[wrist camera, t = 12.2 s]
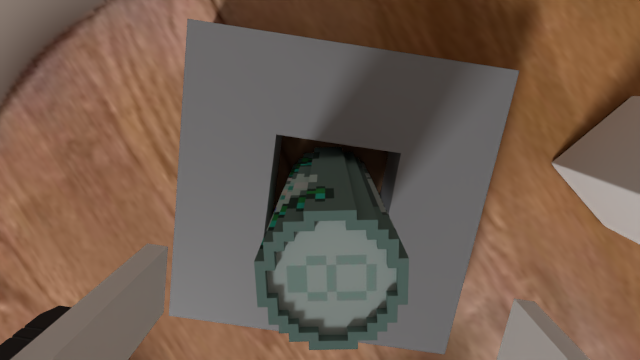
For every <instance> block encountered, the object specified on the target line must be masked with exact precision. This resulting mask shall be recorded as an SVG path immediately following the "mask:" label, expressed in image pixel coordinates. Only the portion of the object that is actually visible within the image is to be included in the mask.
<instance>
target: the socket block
mask: <svg viewBox="0 0 640 360" xmlns="http://www.w3.org/2000/svg"><path fill="white" fill-rule="evenodd" d="M518 74H519V71H518V70H512V69H505V68H499V67H493V66H486V65H480V64H473V63H467V62H461V61H454V60H448V59H442V58H435V57H429V56H422V55H416V54H410V53H403V52H397V51H390V50H384V49H378V48H371V47H365V46H358V45H352V44H346V43H339V42H333V41H327V40H320V39H314V38H307V37H301V36H295V35H288V34H282V33H275V32H269V31H263V30H256V29H250V28H243V27H237V26H231V25H224V24H218V23H212V22H205V21H199V20H192V19H188V21H187V37H186V53H185V69H184V85H183V101H182V116H181V132H180V148H179V164H178V180H177V196H176V212H175V228H174V243H173V259H172V275H171V291H170V307H169V316H175V317H183V318H190V319H197V320H204V321H211V322H218V323H225V324H232V325H239V326H246V327H253V328H261V329H268V330H275V331H279V325H269V322H268V308H267V307H257V294H256V281H255V268H254V260H255V258H256V255H257V253H258V250H259V248H260V245H261V243H262V240H263V238H264V235H265V233H266V231H267V228H268V226H269V223H270V221H271V218H272V215H273V207H274V199H275V191H276V183H277V175H278V167H279V159H280V152H281V144H282V136H283V135H284V136H290V137H297V138H303V139H310V140H317V141H323V142H330V143H336V144H343V145H350V146H356V147H363V148H370V149H376V150H383V151H388V156H387V161H386V166H385V171H384V176H383V181H382V187H381V192H380V197H381V199H382V202H383V204H384V206H385V208H386V210H387V212H388V214H389V216H390V219H391V221H392V223H393V225H394V227H395V229H396V231H397V234H398V236H399V238H400V240H401V242H402V244H403V246H404V249H405V251H406V253H407V255H408V257H409V280H408V305H398V318H397V323H387V332H377V340H362V341H358V342H360V343H367V344H374V345H381V346H388V347H395V348H403V349H410V350H417V351H424V352H431V353H438V354H445V351H446V347H447V343H448V339H449V336H450V332H451V328H452V324H453V320H454V317H455V313H456V309H457V305H458V301H459V298H460V294H461V290H462V286H463V283H464V279H465V275H466V271H467V267H468V264H469V260H470V256H471V252H472V248H473V245H474V241H475V237H476V233H477V229H478V226H479V222H480V218H481V214H482V210H483V207H484V203H485V199H486V195H487V191H488V188H489V184H490V180H491V176H492V173H493V169H494V165H495V161H496V157H497V154H498V150H499V146H500V142H501V138H502V135H503V131H504V127H505V123H506V119H507V116H508V112H509V108H510V104H511V100H512V97H513V93H514V89H515V85H516V82H517V78H518Z"/></svg>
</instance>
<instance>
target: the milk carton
mask: <svg viewBox="0 0 640 360" xmlns="http://www.w3.org/2000/svg"><path fill="white" fill-rule="evenodd" d="M552 165H553V166H554V168H555V169H556V170H557V171H558V173H559V174H560V175H561V176H562V177H563V178H564V180H565V181H566V182H567V183H568V184H569V185H570V187H571V188H572V189H573V190H574V191H575V192H576V194H577V195H578V196H579V197H580V198H581V199H582V201H583V202H584V203H585V204H586V205H587V206H588V208H589V209H590V210H591V211H592V212H593V213H594V215H595V216H596V217H597V218H598V219H599V220H600V222H601V223H602V224H603V225H604V226H606V227H607V228H609V229H611V230H613V231H615V232H617V233H619V234H621V235H623V236H625V237H626V238H628V239H630V240H632V241H634V242H636V243H638V244H640V96H632V97H630V98H629V99H628V100H627V101H625V102H624V103H623V104H622V105H621V106H619V107H618V108H617V109H616V110H614V111H613V112H612V113H611V114H610V115H608V116H607V117H606V118H605V119H604V120H602V121H601V122H600V123H599V124H598V125H596V126H595V127H594V128H593V129H592V130H590V131H589V132H588V133H587V134H586V135H584V136H583V137H582V138H581V139H580V140H578V141H577V142H576V143H575V144H574V145H572V146H571V147H570V148H569V149H567V150H566V151H565V152H564V153H563V154H561V155H560V156H559V157H558V158H557V159H555V160H554V161H553V162H552Z"/></svg>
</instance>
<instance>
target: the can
mask: <svg viewBox="0 0 640 360" xmlns="http://www.w3.org/2000/svg"><path fill="white" fill-rule="evenodd" d="M254 268H255V281H256V294H257V307H267V308H268V322H269V325H279V333H289V342H300V341H309V350H329V349H358V341H362V340H377V332H387V323H397V318H398V305H408V280H409V257H408V255H407V253H406V251H405V249H404V246H403V244H402V242H401V240H400V238H399V236H398V234H397V231H396V229H395V227H394V225H393V223H392V221H391V219H390V216H389V214H388V212H387V210H386V208H385V206H384V204H383V202H382V199H381V197H380V195H379V193H378V191H377V189H376V187H375V184H374V182H373V180H372V178H371V176H370V174H369V172H368V171H367V169H366V166H365V164H364V162H360V160H359V158H358V157H354V154H353V152H343V150H342V147H315V149H314V153H304V155H303V158H301V159H299V160H298V163H297V164H294V165H293V167H292V170H291V173H290V174H289V176H288V178H287V181H286V183H285V186H284V188H283V191H282V193H281V196H280V198H279V201H278V203H277V206H276V208H275V211H274V213H273V216H272V218H271V221H270V223H269V226H268V228H267V231H266V233H265V235H264V238H263V240H262V243H261V245H260V248H259V250H258V253H257V255H256V258H255V260H254Z"/></svg>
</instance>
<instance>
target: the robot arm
mask: <svg viewBox="0 0 640 360" xmlns="http://www.w3.org/2000/svg"><path fill="white" fill-rule="evenodd" d="M167 252H168V247H167V246H160V245H153V244H146V245H145V246H144V247H143V248H142V249H141V250H139V251H138V252H137V253H136V254H135V255H133V256H132V257H131V258H130V259H129V260H127V261H126V262H125V263H124V264H123V265H122V266H120V267H119V268H118V269H117V270H116V271H114V272H113V273H112V274H111V275H110V276H109V277H107V278H106V279H105V280H104V281H103V282H101V283H100V284H99V285H98V286H97V287H96V288H94V289H93V290H92V291H91V292H90V293H88V294H87V295H86V296H85V297H84V298H82V299H81V300H80V301H79V302H78V303H77V304H75V305H74V306H73V307H65V306H57V307H55V308H53V309H51V310H49V311H46V312H44V313H42V314H40V315H38V316H37V317H36V318H35V319H33V320H32V321H31V322H29V323H28V324H27V325H25V328H22V329H20V330H19V331H18V332H16V333H15V334H14V335H13V337H12V338H9V339H7V340H6V341H5V342H4V343H2V344H1V345H0V360H128V359H129V358H130V356H131V355H132V354H133V352H134V351H135V350H136V348H137V347H138V346H139V344H140V343H141V342H142V340H143V339H144V338H145V336H146V335H147V334H148V332H149V331H150V330H151V328H152V327H153V326H154V324H155V323H156V322H157V320H158V319H159V318H160V316H161V315H162V314H163V312H164V297H165V282H166V267H167ZM497 360H590V359H589V358H588V357H587V356H586V355H585V354H584V353H583V352H582V351H581V350H580V349H579V348H578V346H577V345H576V344H575V343H574V342H573V341H572V340H571V339H570V338H569V337H568V336H567V335H566V334H565V333H564V332H563V331H562V330H561V329H560V328H559V327H558V326H557V325H556V324H555V323H554V322H553V320H552V319H551V318H550V317H549V316H548V315H547V314H546V313H545V312H544V311H543V310H542V309H541V308H540V307H539V306H538V305H537V304H536V303H535V302H534V301H527V300H520V299H514V301H513V305H512V308H511V312H510V315H509V319H508V322H507V325H506V329H505V332H504V336H503V339H502V343H501V346H500V350H499V353H498V356H497Z"/></svg>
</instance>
